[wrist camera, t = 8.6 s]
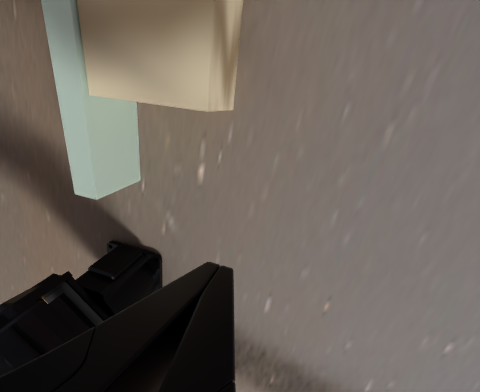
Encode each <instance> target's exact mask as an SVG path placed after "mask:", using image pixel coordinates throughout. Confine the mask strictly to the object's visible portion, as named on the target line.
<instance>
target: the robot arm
mask: <svg viewBox="0 0 480 392" xmlns="http://www.w3.org/2000/svg"><path fill="white" fill-rule="evenodd" d="M107 252H108V254H106V255H105V256H103V257H102V258H101V259H99V260H98V261H97V262H95V263H94V264H93V265H91V266H90V267H89V268H88V271H87V272H86V273H84V274H83V275H82V276H80V277H79V278H78V279H76V280H75V279H74V278H73V277H72V276H73V275H72V274H71V273H70V272H69V271H68V272H66V273H64V274H63V275H57V274H54V273H53V274H52V275H50V276H49V277H47V278H46V279H44V280H43V281H41V282H40V283H38V284H37V285H35V286H33V287H32V288H30V289H28V290H26V291H24V292H23V293H21V294H19V295H17V296H15V297H13V298H11V299H10V300H8V301H6V302H4V303H2V304H1V305H0V392H236V388H235V339H234V279H233V269H232V268H229V267H226V266H220V265H219V264H215V263H212V262H206V263H204V264H203V265H201V266H199V267H197V268H196V269H194V270H192V271H191V272H189V273H187V274H185V275H184V276H182V277H180V278H178V279H177V280H175V281H173V282H171V283H170V284H168V285H166V286H164V287H163V288H162V258H161V256H160V255H158V254H156V253H152V252H149V251H145V250H142V249H139V248H135V247H132V246H129V245H125V244H122V243H118V242H115V241H110V242H108V243H107ZM44 299H45V300H46V301H47V302H48V303H49V304H47V303H46V302H45V301H44Z"/></svg>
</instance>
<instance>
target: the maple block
mask: <svg viewBox="0 0 480 392" xmlns="http://www.w3.org/2000/svg"><path fill="white" fill-rule="evenodd" d="M77 6H78V14H79V21H80V29H81V36H82V44H83V51H84V59H85V66H86V74H87V81H88V89H89V95H91V96H98V97H105V98H113V99H120V100H127V101H134V102H142V103H149V104H156V105H163V106H171V107H178V108H185V109H192V110H200V111H207V112H209V111H225V110H233V104H234V93H235V83H236V72H237V61H238V51H239V40H240V29H241V18H242V8H243V0H77Z"/></svg>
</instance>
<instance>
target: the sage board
mask: <svg viewBox="0 0 480 392" xmlns="http://www.w3.org/2000/svg"><path fill="white" fill-rule="evenodd" d="M41 2H42V8H43V14H44V20H45V25H46V31H47V37H48V43H49V48H50V54H51V60H52V66H53V71H54V77H55V83H56V89H57V95H58V100H59V106H60V112H61V118H62V123H63V129H64V135H65V141H66V146H67V152H68V158H69V164H70V169H71V175H72V181H73V187H74V193H75V194H76V195H80V196H84V197H87V198H91V199H95V200H98V199H100V198H102V197H104V196H107V195H109V194H111V193H113V192H116V191H118V190H120V189H122V188H125V187H127V186H129V185H131V184H134V183H136V182H138V181H140V180H141V177H140V158H139V138H138V118H137V102H134V101H127V100H120V99H113V98H105V97H98V96H91V95H89V89H88V81H87V74H86V66H85V59H84V51H83V44H82V36H81V29H80V21H79V14H78V6H77V0H41Z"/></svg>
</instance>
